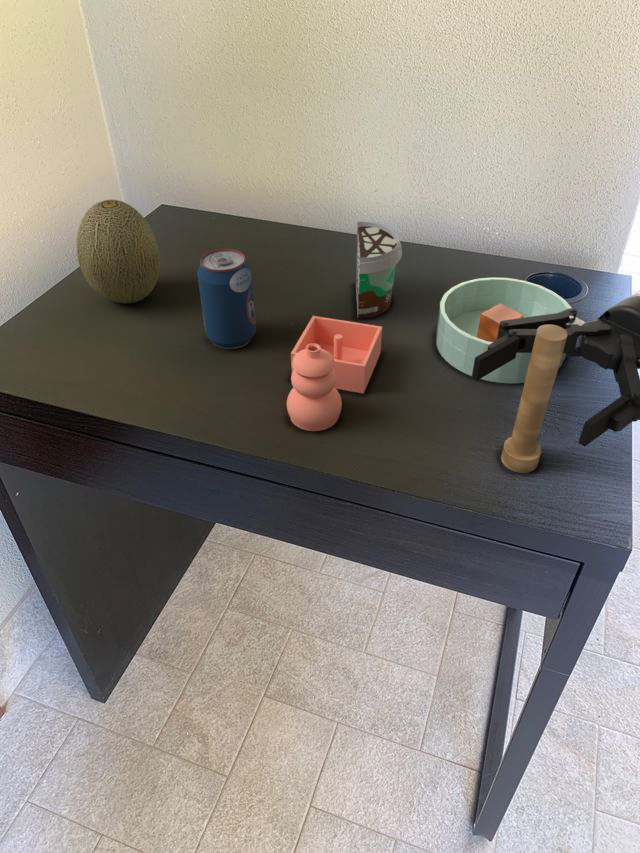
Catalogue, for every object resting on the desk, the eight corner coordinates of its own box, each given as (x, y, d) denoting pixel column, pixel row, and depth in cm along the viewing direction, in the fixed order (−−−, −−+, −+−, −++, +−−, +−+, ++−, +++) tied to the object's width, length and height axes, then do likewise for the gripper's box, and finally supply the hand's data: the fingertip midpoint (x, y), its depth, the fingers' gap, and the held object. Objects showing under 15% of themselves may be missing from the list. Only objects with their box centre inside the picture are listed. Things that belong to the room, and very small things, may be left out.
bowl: (591, 349, 92) (602, 314, 88) (509, 401, 84) (517, 365, 80) (491, 298, 102) (497, 265, 98) (409, 340, 94) (413, 305, 90)
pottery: (313, 341, 94) (312, 277, 87) (380, 353, 92) (384, 288, 85) (267, 424, 81) (261, 356, 75) (344, 439, 79) (345, 371, 72)
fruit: (97, 325, 98) (71, 226, 88) (83, 288, 105) (58, 194, 95) (175, 307, 101) (158, 210, 91) (156, 273, 109) (139, 180, 99)
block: (518, 340, 93) (524, 315, 90) (499, 351, 91) (504, 326, 88) (495, 328, 95) (500, 303, 92) (476, 338, 93) (480, 313, 90)
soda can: (265, 342, 94) (259, 263, 86) (218, 357, 91) (207, 277, 83) (244, 319, 98) (236, 241, 90) (199, 332, 96) (187, 254, 88)
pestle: (545, 462, 76) (582, 333, 65) (522, 478, 74) (557, 349, 63) (516, 443, 78) (547, 316, 67) (493, 458, 76) (522, 330, 65)
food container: (401, 324, 97) (406, 259, 90) (358, 324, 97) (360, 260, 90) (395, 280, 106) (399, 219, 100) (355, 280, 106) (357, 219, 100)
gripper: (736, 403, 74) (626, 495, 64) (547, 310, 89) (433, 372, 79) (765, 346, 69) (651, 436, 59) (560, 257, 84) (440, 317, 74)
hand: (526, 400), depth 69 cm, fingers open, 13 cm apart
